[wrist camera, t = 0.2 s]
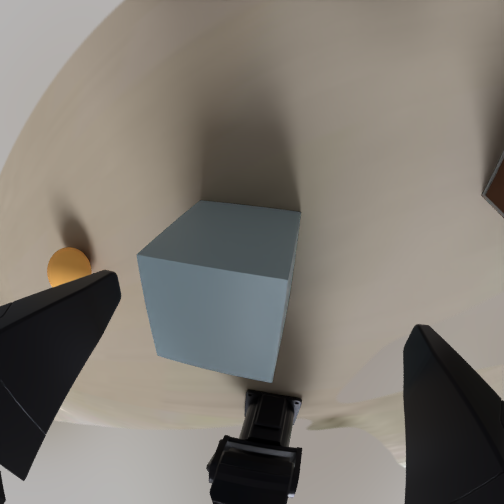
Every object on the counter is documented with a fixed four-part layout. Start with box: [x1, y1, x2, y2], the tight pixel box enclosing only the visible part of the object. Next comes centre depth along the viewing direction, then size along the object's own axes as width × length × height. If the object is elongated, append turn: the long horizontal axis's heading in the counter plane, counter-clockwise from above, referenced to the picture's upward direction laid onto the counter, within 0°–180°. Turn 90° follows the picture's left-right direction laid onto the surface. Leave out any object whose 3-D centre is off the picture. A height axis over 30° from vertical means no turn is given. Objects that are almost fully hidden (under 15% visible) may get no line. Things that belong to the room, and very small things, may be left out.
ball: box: [47, 247, 91, 287], centre depth 25 cm, size 5×5×5 cm
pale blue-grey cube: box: [137, 200, 301, 383], centre depth 19 cm, size 8×8×9 cm
